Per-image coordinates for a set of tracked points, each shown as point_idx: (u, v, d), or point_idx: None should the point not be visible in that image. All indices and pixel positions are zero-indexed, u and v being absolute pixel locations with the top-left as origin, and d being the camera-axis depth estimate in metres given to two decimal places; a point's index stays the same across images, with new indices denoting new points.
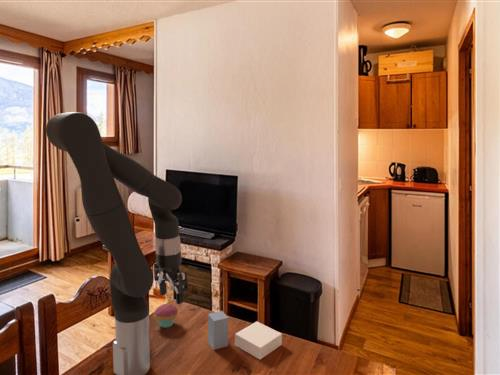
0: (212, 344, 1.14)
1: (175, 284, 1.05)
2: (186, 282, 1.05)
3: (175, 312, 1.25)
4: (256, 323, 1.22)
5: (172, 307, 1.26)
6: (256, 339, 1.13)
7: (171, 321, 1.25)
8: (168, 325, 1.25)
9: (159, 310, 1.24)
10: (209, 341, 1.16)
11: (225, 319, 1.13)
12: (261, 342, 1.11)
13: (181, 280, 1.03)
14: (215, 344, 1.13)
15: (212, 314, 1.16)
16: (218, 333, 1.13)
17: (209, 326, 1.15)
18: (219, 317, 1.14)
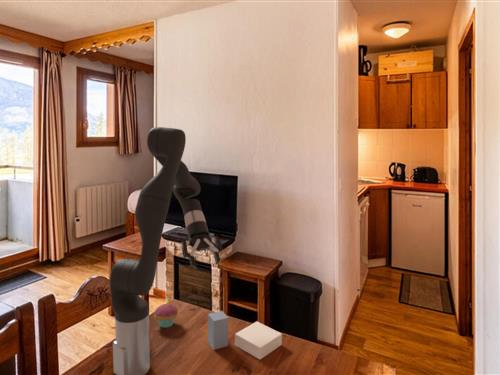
0: (212, 344, 1.14)
1: None
2: None
3: (175, 312, 1.25)
4: (256, 323, 1.22)
5: (172, 307, 1.26)
6: (256, 339, 1.13)
7: (171, 321, 1.25)
8: (168, 325, 1.25)
9: (159, 310, 1.24)
10: (209, 341, 1.16)
11: (225, 319, 1.13)
12: (261, 342, 1.11)
13: None
14: (215, 344, 1.13)
15: (212, 314, 1.16)
16: (218, 333, 1.13)
17: (209, 326, 1.15)
18: (219, 317, 1.14)
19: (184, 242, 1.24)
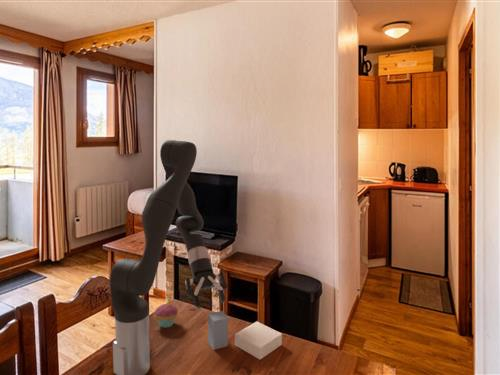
0: (212, 344, 1.14)
1: None
2: None
3: (175, 312, 1.25)
4: (256, 323, 1.22)
5: (172, 307, 1.26)
6: (256, 339, 1.13)
7: (171, 321, 1.25)
8: (168, 325, 1.25)
9: (159, 310, 1.24)
10: (209, 341, 1.16)
11: (225, 319, 1.13)
12: (261, 342, 1.11)
13: None
14: (215, 344, 1.13)
15: (212, 314, 1.16)
16: (218, 333, 1.13)
17: (209, 326, 1.15)
18: (219, 317, 1.14)
19: (188, 281, 1.21)
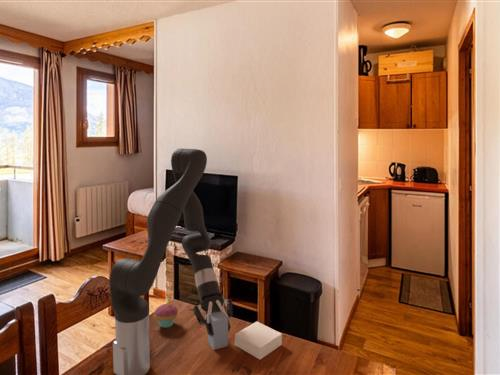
0: (212, 344, 1.14)
1: None
2: None
3: (175, 312, 1.25)
4: (256, 323, 1.22)
5: (172, 307, 1.26)
6: (256, 339, 1.13)
7: (171, 321, 1.25)
8: (168, 325, 1.25)
9: (159, 310, 1.24)
10: (209, 341, 1.16)
11: (225, 319, 1.13)
12: (261, 342, 1.11)
13: (231, 304, 1.21)
14: (216, 344, 1.13)
15: (212, 314, 1.16)
16: (218, 333, 1.13)
17: None
18: (219, 317, 1.14)
19: (197, 308, 1.15)
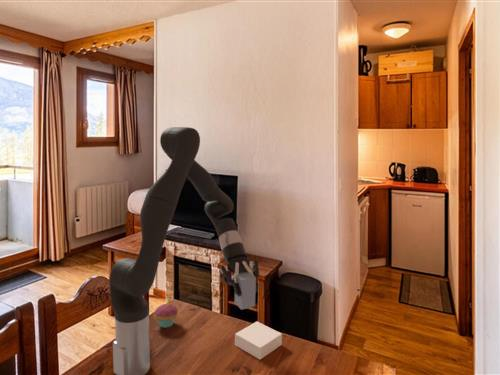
0: (240, 304, 1.12)
1: None
2: None
3: (175, 312, 1.25)
4: (256, 323, 1.22)
5: (172, 307, 1.26)
6: (256, 339, 1.13)
7: (171, 321, 1.25)
8: (168, 325, 1.25)
9: (159, 310, 1.24)
10: (236, 302, 1.15)
11: (253, 279, 1.12)
12: (261, 342, 1.11)
13: None
14: (243, 304, 1.12)
15: (239, 274, 1.14)
16: (246, 292, 1.12)
17: None
18: (247, 277, 1.12)
19: (224, 269, 1.14)
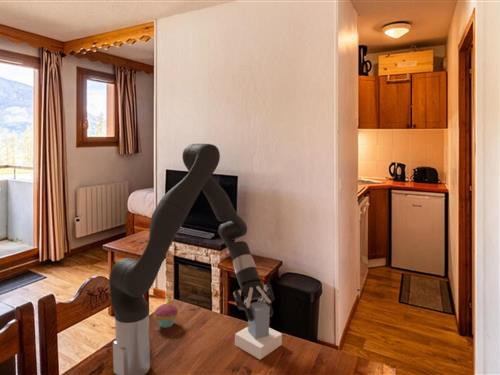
0: (254, 334, 1.13)
1: None
2: None
3: (175, 312, 1.25)
4: None
5: (172, 307, 1.26)
6: (256, 339, 1.13)
7: (171, 321, 1.25)
8: (168, 325, 1.25)
9: (159, 310, 1.24)
10: (250, 331, 1.15)
11: (267, 308, 1.13)
12: (261, 342, 1.11)
13: None
14: (257, 333, 1.13)
15: (253, 304, 1.15)
16: (259, 322, 1.12)
17: None
18: (261, 307, 1.13)
19: (237, 293, 1.14)
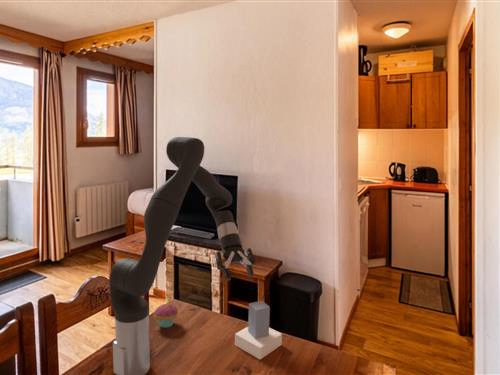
0: (254, 334, 1.13)
1: None
2: None
3: (175, 312, 1.25)
4: None
5: (172, 307, 1.26)
6: (256, 339, 1.13)
7: (171, 321, 1.25)
8: (168, 325, 1.25)
9: (159, 310, 1.24)
10: (250, 331, 1.15)
11: (267, 308, 1.13)
12: (261, 342, 1.11)
13: None
14: (257, 333, 1.13)
15: (253, 304, 1.15)
16: (259, 322, 1.12)
17: (250, 315, 1.15)
18: (261, 307, 1.13)
19: (219, 254, 1.24)
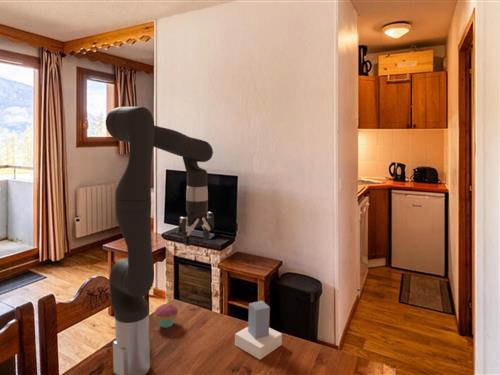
0: (254, 334, 1.13)
1: None
2: None
3: (175, 312, 1.25)
4: None
5: (172, 307, 1.26)
6: (256, 339, 1.13)
7: (171, 321, 1.25)
8: (168, 325, 1.25)
9: (159, 310, 1.24)
10: (250, 331, 1.15)
11: (267, 308, 1.13)
12: (261, 342, 1.11)
13: None
14: (257, 333, 1.13)
15: (253, 304, 1.15)
16: (259, 322, 1.12)
17: (250, 315, 1.15)
18: (261, 307, 1.13)
19: (184, 221, 1.19)
